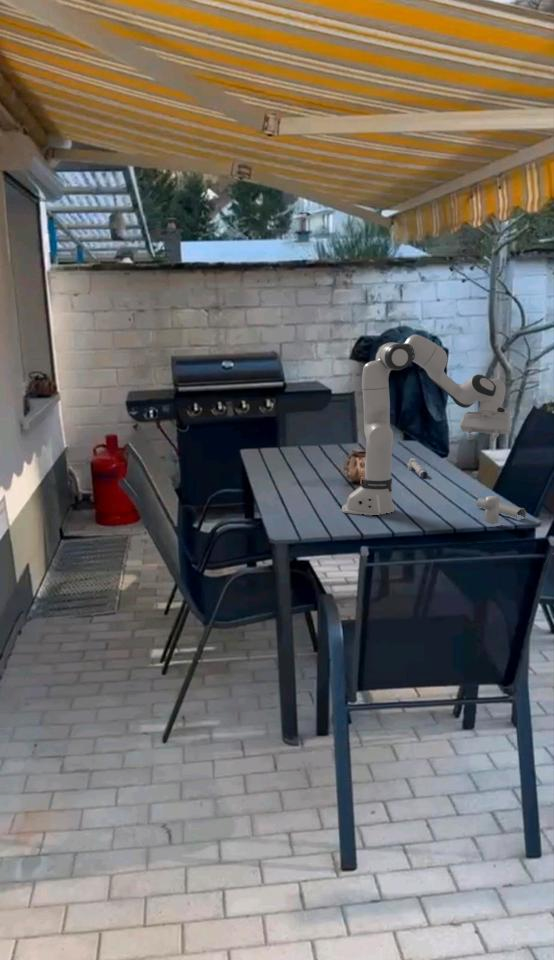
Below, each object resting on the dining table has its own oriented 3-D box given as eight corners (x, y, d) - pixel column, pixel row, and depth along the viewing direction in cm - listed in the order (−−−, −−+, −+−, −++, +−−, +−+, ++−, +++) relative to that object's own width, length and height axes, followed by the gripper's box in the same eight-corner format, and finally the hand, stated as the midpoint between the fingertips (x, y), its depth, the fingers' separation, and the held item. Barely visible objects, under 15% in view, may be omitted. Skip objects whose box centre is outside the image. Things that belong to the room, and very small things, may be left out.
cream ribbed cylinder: (419, 471, 395) (406, 455, 418) (418, 483, 397) (406, 467, 421) (429, 471, 396) (416, 455, 419) (428, 483, 398) (415, 467, 421)
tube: (472, 499, 337) (515, 511, 315) (481, 494, 339) (524, 506, 317) (475, 510, 339) (517, 523, 317) (484, 505, 341) (527, 517, 319)
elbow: (486, 521, 315) (487, 495, 313) (500, 523, 312) (501, 496, 310) (480, 526, 309) (481, 499, 306) (494, 528, 306) (495, 501, 304)
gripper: (463, 407, 332) (454, 433, 326) (511, 409, 321) (503, 436, 315) (466, 416, 337) (457, 442, 331) (513, 419, 326) (506, 445, 320)
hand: (480, 439), depth 323 cm, fingers open, 8 cm apart
